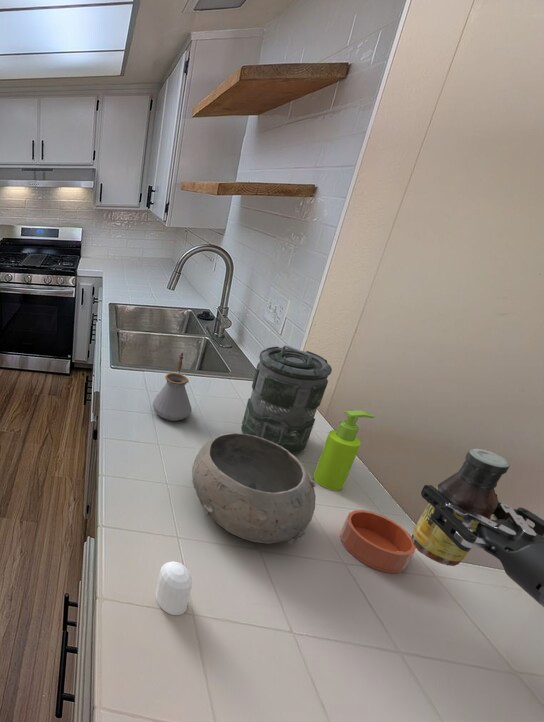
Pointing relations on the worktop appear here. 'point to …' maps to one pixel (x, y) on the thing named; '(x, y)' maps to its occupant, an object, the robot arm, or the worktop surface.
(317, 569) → the worktop surface
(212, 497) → the bowl
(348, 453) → the soap dispenser
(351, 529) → the holder
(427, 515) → the sauce bottle
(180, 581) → the capsule
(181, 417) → the coffee pot
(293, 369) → the canister
